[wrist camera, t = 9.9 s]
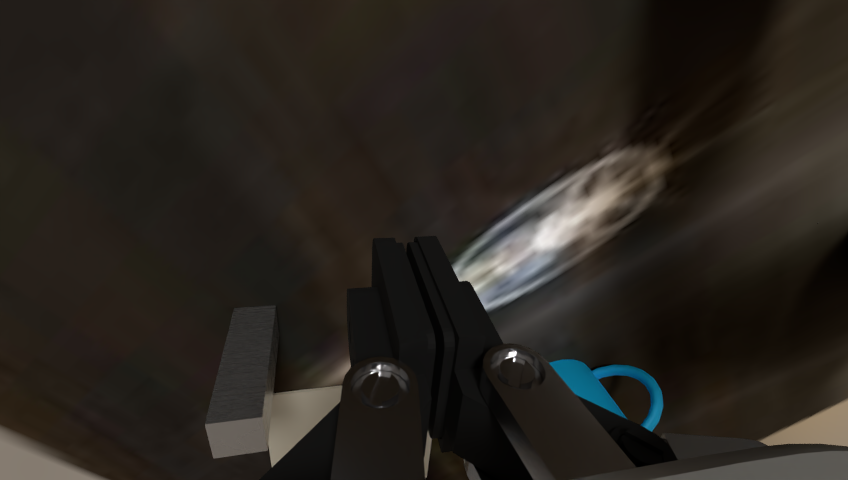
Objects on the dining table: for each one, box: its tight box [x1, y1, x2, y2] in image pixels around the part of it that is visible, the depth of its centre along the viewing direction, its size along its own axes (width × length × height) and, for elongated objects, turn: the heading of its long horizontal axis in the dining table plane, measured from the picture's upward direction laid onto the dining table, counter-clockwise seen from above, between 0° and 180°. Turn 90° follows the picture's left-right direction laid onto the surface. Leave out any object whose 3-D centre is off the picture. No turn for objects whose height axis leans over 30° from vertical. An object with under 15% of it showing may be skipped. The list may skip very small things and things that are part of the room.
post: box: [205, 305, 279, 458], centre depth 25 cm, size 3×3×9 cm
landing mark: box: [268, 385, 432, 478], centre depth 37 cm, size 14×14×1 cm
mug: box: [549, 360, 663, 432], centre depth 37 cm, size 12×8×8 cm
